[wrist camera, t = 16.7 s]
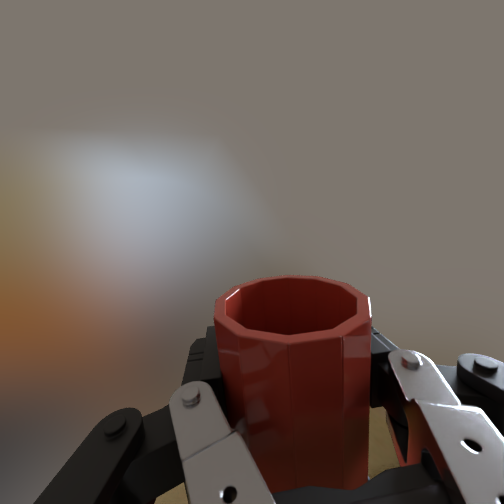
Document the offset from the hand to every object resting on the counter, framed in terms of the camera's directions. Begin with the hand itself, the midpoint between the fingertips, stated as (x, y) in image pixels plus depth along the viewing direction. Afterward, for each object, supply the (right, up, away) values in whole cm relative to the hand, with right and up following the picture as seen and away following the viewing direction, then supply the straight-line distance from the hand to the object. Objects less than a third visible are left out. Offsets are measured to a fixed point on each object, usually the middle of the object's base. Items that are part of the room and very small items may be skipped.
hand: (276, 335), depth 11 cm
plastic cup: (+1, -6, -1) cm, 7 cm away
